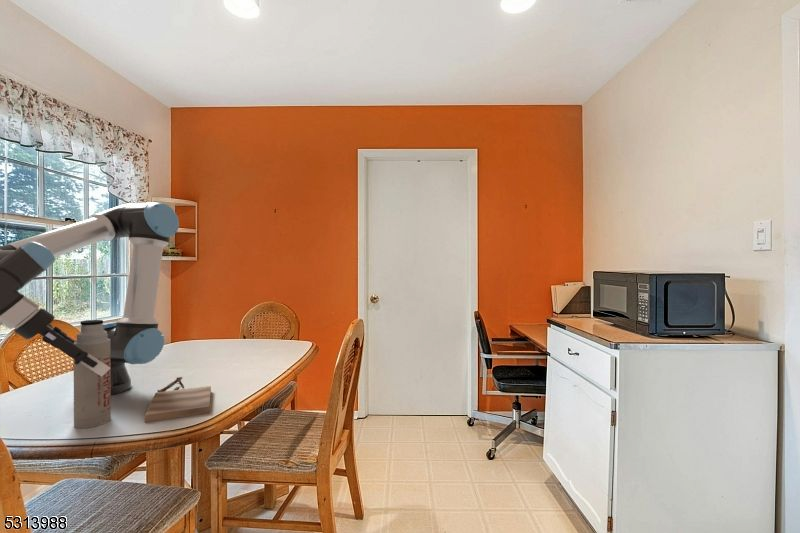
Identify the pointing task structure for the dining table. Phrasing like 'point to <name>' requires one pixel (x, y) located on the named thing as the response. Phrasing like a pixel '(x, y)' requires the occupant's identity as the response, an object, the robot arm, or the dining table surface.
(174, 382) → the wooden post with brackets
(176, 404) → the walnut board
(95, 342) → the thermos bottle
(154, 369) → the dining table surface
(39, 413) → the dining table surface
